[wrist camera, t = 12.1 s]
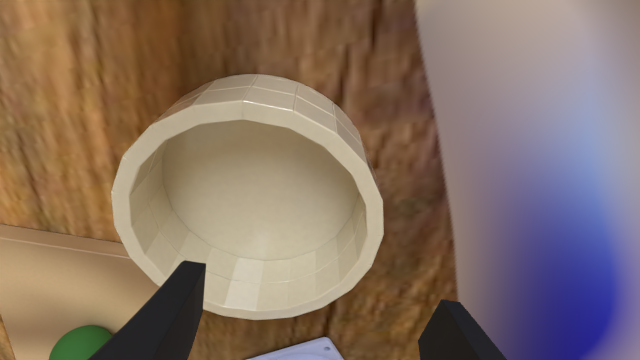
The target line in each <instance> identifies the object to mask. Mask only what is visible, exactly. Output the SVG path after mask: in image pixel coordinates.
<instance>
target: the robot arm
mask: <svg viewBox="0 0 640 360" xmlns="http://www.w3.org/2000/svg"><path fill="white" fill-rule="evenodd" d="M205 274H206V263H199V262H193V261H186V260H184V261H183V262H181V263H180V264H179V265H178V267H177V268H176V269H175V270H174V272H173V273H172V274H171V275H170V276H169V278H168V279H167V280H166V281H165V282H164V283H163V285H162V286H161V287H160V288H159V289H158V290H157V291H156V292H155V294H154V295H153V296H152V297H151V298H150V299H149V300H148V301H147V302H146V303H145V304H144V305H143V306H142V307H141V308H140V309H139V310H138V312H137V313H136V314H135V315H134V316H133V317H132V318H131V319H130V320H129V321H128V322H127V323H126V324H125V325H124V326H123V327H122V328H121V329H120V330H119V331H117V332H116V333H115V334H114V335H113V336H112V337H111V338H110V339H109V340H108V341H107V342H106V343H105V344H104V345H103V346H102V347H101V348H100V349H98V350H97V351H96V352H95V353H94V354H93V355H92V356H91V357H90V358H88V359H87V360H187V358H188V356H189V353H190V351H191V348H192V346H193V342H194V339H195V336H196V332H197V329H198V325H199V322H200V318H201V315H202V311H203V300H204V287H205ZM418 344H419V352H420V359H421V360H507V359H506V358H505V357H504V356H503V354H502V353H501V352H500V351H499V349H498V348H497V347H496V346H495V345H494V343H493V342H492V341H491V340H490V338H489V337H488V336H487V335H486V334H485V332H484V331H483V330H482V329H481V327H480V326H479V325H478V324H477V322H476V321H475V320H474V319H473V317H471V315H470V314H469V313H468V311H467V310H466V309H465V308H464V307H463V305H461V303H460V302H455V301H448V300H442V299H441V301H440V303H439V305H438V306H437V308H436V310H435V312H434V313H433V315H432V317H431V319H430V320H429V322H428V324H427V326H426V327H425V329H424V331H423V333H422V334H421V336H420V338H419V340H418ZM247 360H344V359H343V357H342V356H341V355H340V353H339V352H338V350H337V349H336V347H335V346H334V344H333V343H332V341H331V340H330V339H329V338H327V337H322V338H318V339H315V340H311V341H308V342H305V343H301V344H298V345H294V346H291V347H288V348H284V349H281V350H277V351H274V352H270V353H267V354H264V355H260V356H257V357H253V358H250V359H247Z"/></svg>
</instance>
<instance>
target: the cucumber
mask: <svg viewBox="0 0 640 360" xmlns="http://www.w3.org/2000/svg"><path fill="white" fill-rule="evenodd" d="M111 337H112V335H111V333H110V332H109V331H108V330H106V329H104V328H102V327H99V326H95V325H87V326H81V327H78V328H75V329H73V330H71V331H69V332H68V333H66V334H65V335H64V336H62V337H61V338H60V339H59V340H58V342H57V343H56V344H55V346H54V347H53V349H52V351H51V353H50V356H49V360H87V359H88V358H90V357H91V356H92V355H93V354H94V353H95V352H96V351H97V350H98V349H100V348H101V347H102V346H103V345H104V344H105V343H106V342H107V341H108V340H109V339H110V338H111Z"/></svg>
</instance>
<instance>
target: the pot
mask: <svg viewBox="0 0 640 360" xmlns="http://www.w3.org/2000/svg"><path fill="white" fill-rule="evenodd" d="M111 199H112V208H113V218H114V226H115V229H116V231H117V233H118V235H119V237H120V239H121V241H122V243H123V245H124V247H125V249H126V251H127V253H128V255H129V257H130V258H131V259H132V260H133V261H134V262H135V263H136V264H137V265H138V266H139V267H140V269H141V270H142V271H143V272H144V273H145V274H146V275H147V276H148V277H149V278H150V279H151V280H152V281H153V282H154V283H155V284H157V285H158V286H159V287H161V286H162V285H163V283H164V282H165V281H166V280H167V279H168V278H169V276H170V275H171V274H172V273H173V272H174V270H175V269H176V268H177V267H178V265H179V264H180V263H181V262H183V261H184V260H186V261H193V262H199V263H206V274H205V287H204V300H203V309H204V310H207V311H210V312H212V313H215V314H218V315H221V316H227V317H235V318H243V319H251V320H265V319H278V318H290V317H294V316H297V315H301V314H304V313H307V312H310V311H313V310H317V309H320V308H323V307H324V306H326V305H328V304H329V303H331V302H332V301H334V300H336V299H337V298H339V297H340V296H342V295H344V294H345V293H347V292H348V291H350V290H351V289H352V288H353V287H354V286H355V285H356V284H357V283H358V282H359V280H360V279H361V278H362V277H363V276H364V275H365V273H366V272H367V271H368V270H369V269H370V268H371V266H372V264H373V261H374V259H375V256H376V254H377V251H378V248H379V246H380V243H381V240H382V238H383V235H384V225H383V200H382V196H381V193H380V190H379V186H378V183H377V179H376V176H375V172H374V169H373V165H372V162H371V159H370V157H369V154H368V152H367V150H366V147H365V144H364V142H363V140H362V138H361V136H360V133H359V132H358V130H357V129H356V127H355V126H354V124H353V123H352V121H351V120H350V119H349V117H348V116H347V115H346V114H345V113H344V112H343V111H342V110H341V109H340V108H339V107H338V106H337V105H335V104H334V103H333V102H332V101H331V100H329V99H328V98H327V97H325V96H324V95H322V94H320V93H319V92H317V91H316V90H314V89H312V88H310V87H308V86H305V85H303V84H301V83H299V82H296V81H292V80H289V79H286V78H282V77H277V76H271V75H261V74H244V75H234V76H229V77H225V78H221V79H217V80H214V81H212V82H209V83H206V84H204V85H202V86H200V87H198V88H196V89H195V90H193V91H191V92H190V93H188V94H186V95H184V96H182V97H181V98H180V99H179V100H178V101H177V102H175V103H174V104H173V105H172V106H171V107H170V108H169V109H168V110H167V111H165V112H164V113H163V114H162V115H161V116H160V117H159V118H158V119H157V120H156V121H154V122H153V123H152V124H151V125H150V126H149V127H148V128H147V129H146V130H145V131H144V132H143V134H142V135H141V136H140V137H139V138H138V139H137V140H136V141H135V142H134V143H133V144H132V146H131V147H130V148H129V149H128V150H127V151H126V152H125V153H124V154H123V157H122V159H121V162H120V165H119V168H118V171H117V174H116V177H115V180H114V184H113V187H112V191H111Z"/></svg>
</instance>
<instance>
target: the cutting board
mask: <svg viewBox="0 0 640 360" xmlns="http://www.w3.org/2000/svg"><path fill="white" fill-rule="evenodd" d="M159 288H160V287H159V286H158V285H157V284H155V283H154V282H153V281H152V280H151V279H150V278H149V277H148V276H147V275H146V274H145V273H144V272H143V271H142V270H141V269H140V267H139V266H138V265H137V264H136V263H135V262H134V261H133V260H132V259H131V258H130V257H129V255H128V253H127V251H126V249H125V247H124V245H123V243H117V242H111V241H105V240H98V239H92V238H86V237H79V236H73V235H67V234H60V233H54V232H48V231H42V230H35V229H29V228H23V227H16V226H10V225H4V224H0V314H1V317H2V319H3V322H4V325H5V328H6V331H7V334H8V337H9V340H10V343H11V346H12V349H13V352H14V355H15V358H16V360H49V356H50V353H51V351H52V349H53V347H54V346H55V344H56V343H57V342H58V340H59V339H60V338H61V337H62V336H64V335H65V334H66V333H68V332H69V331H71V330H73V329H75V328H78V327H81V326H87V325H95V326H99V327H102V328H104V329H106V330H108V331H109V332H110V333H111V335H112V336H113V335H114V334H115V333H116V332H117V331H119V330H120V329H121V328H122V327H123V326H124V325H125V324H126V323H127V322H128V321H129V320H130V319H131V318H132V317H133V316H134V315H135V314H136V313H137V312H138V310H139V309H140V308H141V307H142V306H143V305H144V304H145V303H146V302H147V301H148V300H149V299H150V298H151V297H152V296H153V295H154V294H155V292H156V291H157V290H158V289H159Z"/></svg>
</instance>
